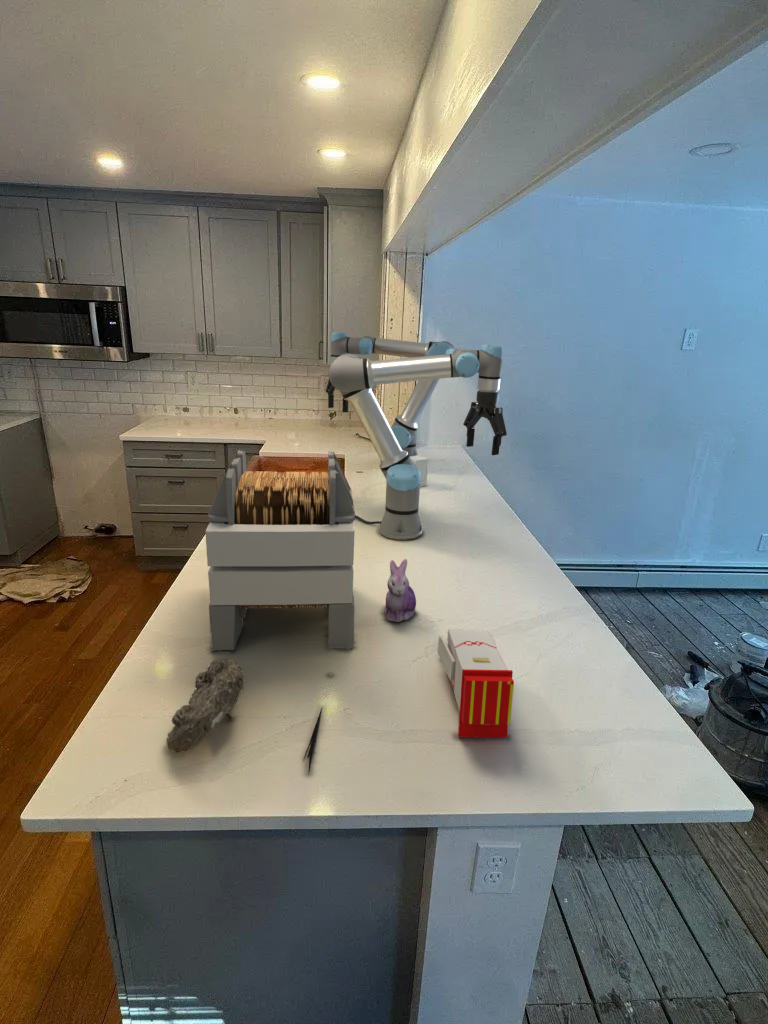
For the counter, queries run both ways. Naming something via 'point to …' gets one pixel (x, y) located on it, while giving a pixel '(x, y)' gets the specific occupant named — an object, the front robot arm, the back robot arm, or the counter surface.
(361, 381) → the front robot arm
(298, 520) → the record crate stand
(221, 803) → the counter surface
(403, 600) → the figurine
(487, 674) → the toy
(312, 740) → the dark thin pointed piece
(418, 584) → the counter surface
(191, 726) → the fossil
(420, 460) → the fish oil box
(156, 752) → the counter surface
